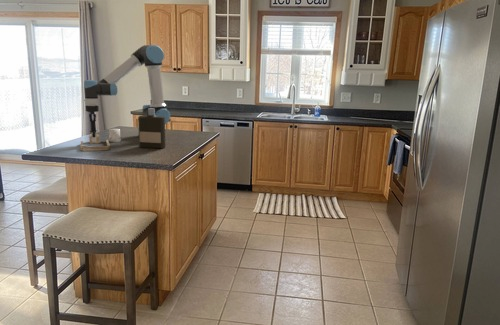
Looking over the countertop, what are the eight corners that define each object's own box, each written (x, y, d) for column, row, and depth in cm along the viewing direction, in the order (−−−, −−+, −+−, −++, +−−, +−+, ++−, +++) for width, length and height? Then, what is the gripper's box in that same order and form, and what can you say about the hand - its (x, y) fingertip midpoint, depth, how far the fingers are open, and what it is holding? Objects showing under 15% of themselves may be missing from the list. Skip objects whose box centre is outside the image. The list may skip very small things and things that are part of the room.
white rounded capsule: (109, 140, 247) (108, 128, 245) (120, 139, 250) (119, 128, 248) (110, 142, 241) (109, 130, 239) (121, 141, 244) (120, 130, 242)
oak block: (89, 142, 239) (89, 134, 238) (99, 141, 242) (98, 134, 241) (89, 143, 234) (89, 136, 233) (99, 143, 237) (99, 136, 235)
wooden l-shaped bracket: (81, 144, 231) (80, 141, 230) (108, 143, 238) (108, 140, 237) (80, 151, 213) (80, 147, 213) (110, 149, 220) (110, 146, 219)
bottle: (142, 145, 236) (140, 107, 229) (166, 146, 235) (165, 108, 229) (138, 148, 228) (136, 108, 222) (163, 149, 228) (162, 109, 221)
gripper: (85, 104, 230) (87, 140, 236) (85, 106, 218) (87, 144, 224) (98, 104, 233) (100, 139, 239) (98, 106, 221) (100, 143, 227)
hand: (94, 141), depth 231 cm, fingers closed
